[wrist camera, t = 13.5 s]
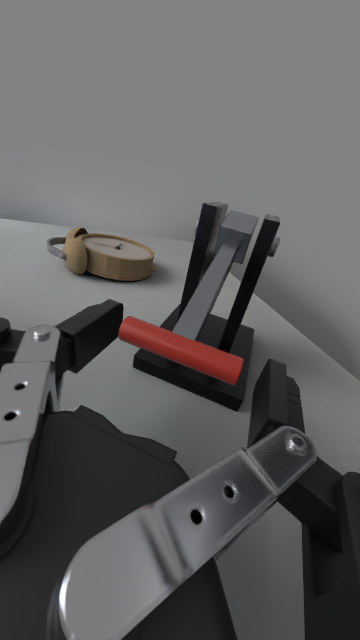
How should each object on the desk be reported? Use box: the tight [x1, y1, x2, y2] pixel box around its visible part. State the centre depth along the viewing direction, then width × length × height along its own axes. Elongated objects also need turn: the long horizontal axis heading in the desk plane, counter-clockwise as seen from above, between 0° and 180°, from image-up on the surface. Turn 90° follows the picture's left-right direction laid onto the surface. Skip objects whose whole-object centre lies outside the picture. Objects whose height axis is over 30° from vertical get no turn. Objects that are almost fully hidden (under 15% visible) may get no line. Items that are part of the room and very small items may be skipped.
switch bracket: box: [133, 202, 280, 411], centre depth 20 cm, size 11×9×13 cm
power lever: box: [118, 210, 259, 385], centre depth 14 cm, size 13×6×2 cm, turn 160°
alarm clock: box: [47, 227, 157, 281], centre depth 35 cm, size 11×5×15 cm
